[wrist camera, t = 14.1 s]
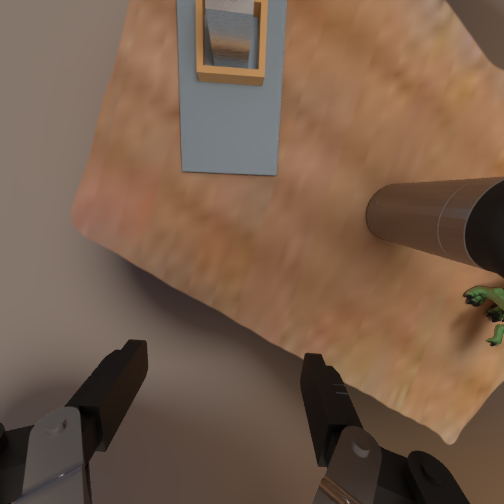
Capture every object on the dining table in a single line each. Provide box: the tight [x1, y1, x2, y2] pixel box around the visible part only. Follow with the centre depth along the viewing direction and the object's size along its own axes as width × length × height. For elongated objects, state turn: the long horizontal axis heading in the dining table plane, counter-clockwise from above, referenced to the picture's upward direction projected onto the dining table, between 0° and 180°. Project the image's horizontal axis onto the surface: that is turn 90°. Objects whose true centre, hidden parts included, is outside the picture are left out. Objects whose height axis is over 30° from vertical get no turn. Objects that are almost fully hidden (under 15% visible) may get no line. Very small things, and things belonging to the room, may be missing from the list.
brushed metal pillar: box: [205, 0, 254, 69], centre depth 26 cm, size 4×4×10 cm
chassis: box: [177, 0, 287, 176], centre depth 32 cm, size 14×22×4 cm, turn 178°
